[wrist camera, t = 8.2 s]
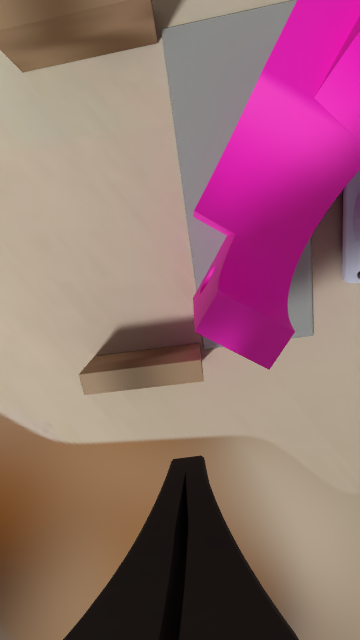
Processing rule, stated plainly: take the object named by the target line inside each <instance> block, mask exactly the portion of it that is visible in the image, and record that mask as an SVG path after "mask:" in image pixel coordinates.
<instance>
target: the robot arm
mask: <svg viewBox="0 0 360 640" xmlns="http://www.w3.org/2000/svg"><path fill="white" fill-rule="evenodd" d="M359 271H360V170H359V171H358V172H357V173H356V174H355V176H354V177H353V178H352V179H351V180H350V182H349V183H348V184H347V185H346V186H345V188H344V189H343V259H342V277H343V280H344V281H345V282H347V283H359V282H360V277H359V278H358V277H357V273H358V272H359ZM63 640H299V639H298V637H297V636H296V634H295V633H294V631H293V630H292V629H291V627H290V626H289V625H288V623H287V622H286V620H285V619H284V618H283V616H282V615H281V613H280V612H279V611H278V609H277V608H276V606H275V605H274V604H273V602H272V600H271V599H270V598H269V596H268V594H267V593H266V592H265V590H264V589H263V587H262V585H261V584H260V582H259V581H258V579H257V577H256V576H255V574H254V573H253V571H252V570H251V568H250V566H249V564H248V563H247V561H246V560H245V558H244V556H243V555H242V553H241V551H240V549H239V547H238V545H237V544H236V542H235V540H234V538H233V536H232V534H231V532H230V530H229V528H228V526H227V525H226V522H225V520H224V518H223V516H222V514H221V512H220V509H219V507H218V505H217V502H216V500H215V497H214V495H213V492H212V489H211V487H210V484H209V480H208V475H207V470H206V465H205V460H204V457H202V456H195V457H188V458H179V459H173V460H172V462H171V465H170V468H169V470H168V473H167V476H166V479H165V481H164V484H163V486H162V488H161V491H160V493H159V495H158V498H157V500H156V502H155V504H154V506H153V509H152V511H151V513H150V514H149V516H148V518H147V521H146V523H145V524H144V526H143V528H142V530H141V532H140V534H139V536H138V537H137V539H136V541H135V543H134V544H133V546H132V547H131V549H130V551H129V552H128V554H127V556H126V557H125V559H124V560H123V562H122V563H121V565H120V566H119V568H118V569H117V571H116V573H115V574H114V575H113V577H112V578H111V580H110V581H109V583H108V584H107V585H106V587H105V588H104V589H103V591H102V592H101V593H100V595H99V596H98V597H97V599H96V600H95V601H94V603H93V604H92V605H91V606H90V608H89V609H88V611H87V612H86V613H85V614H84V616H83V617H82V618H81V619H80V620H79V622H78V623H77V624H76V625H75V626H74V628H73V629H72V630H71V631H70V632H69V634H68V635H67V636H66V637H65V638H64V639H63Z"/></svg>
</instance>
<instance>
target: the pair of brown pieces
mask: <svg viewBox="0 0 360 640" xmlns="http://www.w3.org/2000/svg"><path fill="white" fill-rule="evenodd" d="M156 43H158V42H157V35H156V28H155V21H154V13H153V7H152V0H0V50H1V51H2V52H3V53H4V54H5V55H6V56H7V57H8V58H9V59H10V60H11V61H12V62H13V63H14V64H15V65H16V66H17V67H18V68H19V69H20V70H21V71H22V72H26V71H31V70H36V69H40V68H45V67H49V66H54V65H59V64H63V63H68V62H72V61H77V60H82V59H86V58H91V57H96V56H100V55H105V54H109V53H114V52H119V51H123V50H128V49H133V48H137V47H142V46H146V45H151V44H156ZM79 377H80V381H81V385H82V388H83V392H84V395H88V394H96V393H105V392H114V391H123V390H131V389H140V388H149V387H157V386H166V385H175V384H184V383H192V382H201V381H204V380H203V369H202V359H201V352H200V345H199V343H195V344H187V345H179V346H171V347H163V348H155V349H147V350H139V351H131V352H123V353H115V354H108V355H100V356H94V357H93V359H92V360H91V361H90V362H89V363H88V364H87V366H86V367H85V368H84V369H83V370H82V371H81V373H80V374H79Z"/></svg>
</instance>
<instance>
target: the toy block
mask: <svg viewBox="0 0 360 640" xmlns="http://www.w3.org/2000/svg"><path fill="white" fill-rule="evenodd" d="M359 170H360V0H297V2H296V4H295V6H294V8H293V10H292V12H291V14H290V16H289V18H288V20H287V22H286V24H285V26H284V28H283V30H282V32H281V34H280V36H279V38H278V40H277V42H276V44H275V46H274V48H273V50H272V52H271V54H270V56H269V58H268V60H267V62H266V64H265V66H264V68H263V70H262V73H261V75H260V77H259V79H258V81H257V83H256V85H255V88H254V90H253V92H252V94H251V96H250V98H249V100H248V102H247V104H246V107H245V109H244V111H243V113H242V115H241V117H240V119H239V121H238V123H237V125H236V127H235V130H234V132H233V134H232V136H231V138H230V140H229V142H228V144H227V146H226V148H225V150H224V152H223V154H222V156H221V158H220V160H219V162H218V164H217V166H216V168H215V170H214V172H213V174H212V176H211V178H210V180H209V182H208V184H207V186H206V188H205V190H204V192H203V194H202V196H201V198H200V200H199V202H198V204H197V206H196V208H195V209H194V215H193V217H194V218H196V219H198V220H200V221H201V222H203V223H205V224H207V225H209V226H210V227H212V228H214V229H216V230H218V231H219V232H221V233H223V234H225V235H227V237H226V239H225V240H224V242H223V244H222V246H221V248H220V250H219V251H218V253H217V255H216V257H215V259H214V261H213V262H212V264H211V266H210V268H209V270H208V272H207V273H206V275H205V277H204V279H203V281H202V283H201V285H200V286H199V288H198V290H197V292H196V294H195V296H194V297H193V303H194V327H195V332H196V333H198V334H200V335H202V336H204V337H206V338H208V339H210V340H212V341H214V342H216V343H218V344H220V345H222V346H224V347H226V348H228V349H230V350H232V351H233V352H235V353H237V354H239V355H241V356H243V357H245V358H247V359H249V360H251V361H253V362H255V363H257V364H259V365H261V366H263V367H265V368H267V369H270V368H271V366H272V365H273V364H274V362H275V361H276V359H277V358H278V356H279V355H280V353H281V352H282V350H283V349H284V347H285V346H286V345H287V343H288V342H289V340H290V339H291V337H292V336H293V334H294V333H295V330H294V328H293V327H292V325H291V322H290V320H289V315H288V295H289V289H290V285H291V281H292V278H293V274H294V271H295V269H296V266H297V264H298V261H299V259H300V257H301V255H302V253H303V250H304V248H305V246H306V245H307V243H308V241H309V239H310V237H311V236H312V234H313V232H314V230H315V229H316V227H317V226H318V224H319V222H320V221H321V219H322V218H323V216H324V215H325V213H326V212H327V210H328V209H329V208H330V206H331V205H332V203H333V202H334V201H335V199H336V198H337V197H338V195H339V194H340V193H341V192H342V190H343V189H344V188H345V186H346V185H347V184H348V183H349V182H350V180H351V179H352V178H353V177H354V176H355V174H356V173H357V172H358V171H359Z"/></svg>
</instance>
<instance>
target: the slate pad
mask: <svg viewBox="0 0 360 640" xmlns="http://www.w3.org/2000/svg"><path fill="white" fill-rule="evenodd" d="M296 2H297V0H292V1H288V2H283V3H279V4H274V5H270V6H265V7H261V8H256V9H252V10H247V11H243V12H238V13H233V14H229V15H224V16H220V17H215V18H211V19H206V20H202V21H197V22H193V23H188V24H184V25H179V26H174V27H170V28H165V29H161V31H162V39H163V46H164V54H165V61H166V69H167V76H168V84H169V91H170V98H171V106H172V113H173V121H174V128H175V136H176V143H177V150H178V158H179V165H180V173H181V180H182V188H183V195H184V203H185V210H186V217H187V225H188V232H189V240H190V247H191V255H192V262H193V269H194V277H195V284H196V292H197V290H198V288H199V286H200V285H201V283H202V281H203V279H204V277H205V275H206V273H207V272H208V270H209V268H210V266H211V264H212V262H213V261H214V259H215V257H216V255H217V253H218V251H219V250H220V248H221V246H222V244H223V242H224V240H225V239H226V237H227V235H225V234H223V233H221V232H219V231H218V230H216V229H214V228H212V227H210V226H209V225H207V224H205V223H203V222H201V221H200V220H198V219H196V218H194V217H193V215H194V209H195V208H196V206H197V204H198V202H199V200H200V198H201V196H202V194H203V192H204V190H205V188H206V186H207V184H208V182H209V180H210V178H211V176H212V174H213V172H214V170H215V168H216V166H217V164H218V162H219V160H220V158H221V156H222V154H223V152H224V150H225V148H226V146H227V144H228V142H229V140H230V138H231V136H232V134H233V132H234V130H235V127H236V125H237V123H238V121H239V119H240V117H241V115H242V113H243V111H244V109H245V107H246V104H247V102H248V100H249V98H250V96H251V94H252V92H253V90H254V88H255V85H256V83H257V81H258V79H259V77H260V75H261V73H262V70H263V68H264V66H265V64H266V62H267V60H268V58H269V56H270V54H271V52H272V50H273V48H274V46H275V44H276V42H277V40H278V38H279V36H280V34H281V32H282V30H283V28H284V26H285V24H286V22H287V20H288V18H289V16H290V14H291V12H292V10H293V8H294V6H295V4H296ZM288 315H289V320H290V322H291V325H292V327H293V328H294V330H295V333H294V334H293V336H292V337H291V338H299V337H307V336H313V313H312V256H311V237H310V239H309V241H308V243H307V245H306V246H305V248H304V250H303V253H302V255H301V257H300V259H299V261H298V264H297V266H296V269H295V271H294V274H293V278H292V281H291V285H290V289H289V295H288ZM203 344H204V349H210V348H218V347H224V346H222V345H220V344H218V343H216V342H214V341H212V340H210V339H208V338H206V337H204V336H203Z"/></svg>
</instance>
